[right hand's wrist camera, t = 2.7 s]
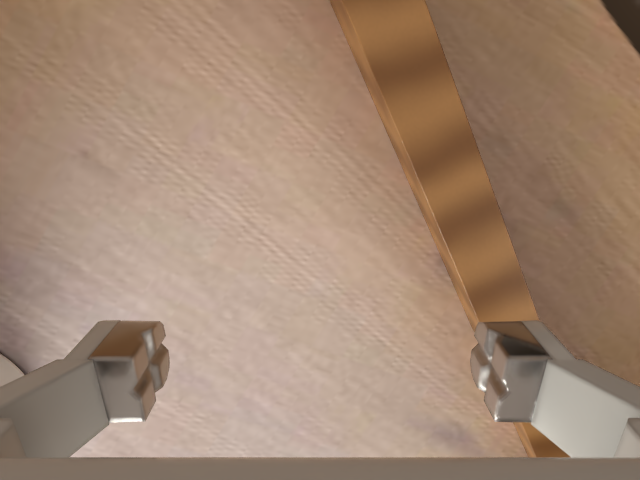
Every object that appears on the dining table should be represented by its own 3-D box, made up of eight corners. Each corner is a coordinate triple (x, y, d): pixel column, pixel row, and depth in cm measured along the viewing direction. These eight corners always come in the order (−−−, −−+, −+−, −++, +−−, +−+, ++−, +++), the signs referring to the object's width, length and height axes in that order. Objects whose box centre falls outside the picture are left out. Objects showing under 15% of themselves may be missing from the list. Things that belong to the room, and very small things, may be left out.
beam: (260, -159, 26) (247, -221, 21) (322, -200, 26) (326, -276, 20) (545, 497, 50) (574, 548, 45) (582, 484, 49) (616, 534, 44)
